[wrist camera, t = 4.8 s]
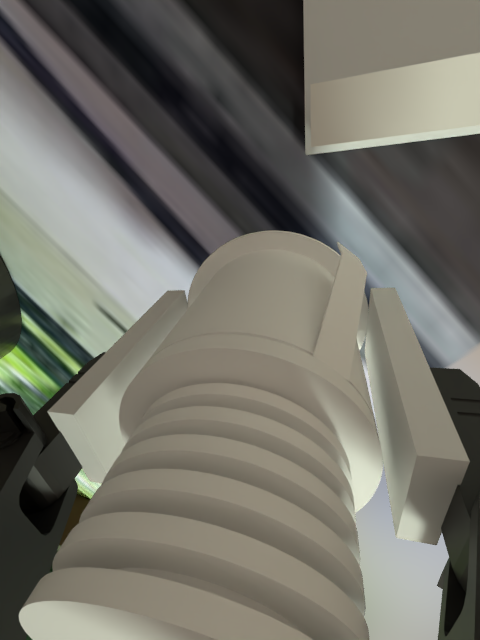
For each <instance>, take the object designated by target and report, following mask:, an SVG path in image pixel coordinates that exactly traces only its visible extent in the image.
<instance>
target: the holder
mask: <svg viewBox="0 0 480 640" xmlns="http://www.w3.org/2000/svg"><path fill="white" fill-rule="evenodd" d="M303 13H304V85H305V155H310V154H318V153H326V152H335V151H343V150H351V149H359V148H367V147H375V146H383V145H391V144H399V143H407V142H415V141H423V140H431V139H439V138H447V137H455V136H463V135H471V134H479V133H480V0H303Z"/></svg>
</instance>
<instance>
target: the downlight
mask: <svg viewBox="0 0 480 640" xmlns="http://www.w3.org/2000/svg"><path fill="white" fill-rule="evenodd" d="M337 245H338V248H339V250H340V253H341V256H340V255H339V254H338V253H337V252H335V251H334V250H333V249H331V248H330V247H329V246H327V245H325V244H323V243H322V242H320V241H318V240H315V239H313V238H311V237H308V236H305V235H302V234H298V233H293V232H287V231H260V232H254V233H249V234H246V235H243V236H240V237H237V238H235V239H233V240H231V241H229V242H227V243H225V244H224V245H222V246H221V247H219V248H218V249H217V250H215V251H214V252H213V253H212V254H211V255H210V256H209V257H208V258H207V259H206V260H205V261H204V262H203V264H202V265H201V267H200V268H199V269H198V271H197V273H196V275H195V277H194V279H193V281H192V284H191V287H190V290H189V295H188V310H187V311H186V312H185V314H184V315H183V316H182V318H181V319H180V320H179V321H178V323H177V324H176V325H175V327H174V328H173V329H172V330H171V332H170V333H169V334H168V335H167V337H166V338H165V339H164V341H163V342H162V343H161V344H160V346H159V347H158V348H157V350H156V351H155V352H154V353H153V355H152V356H151V357H150V359H149V360H148V361H147V362H146V364H145V365H144V366H143V368H142V369H141V370H140V371H139V373H138V374H137V375H136V376H135V378H134V379H133V380H132V381H131V383H130V384H129V385H128V387H127V389H126V391H125V392H124V395H123V397H122V400H121V404H120V409H119V425H120V431H121V435H122V438H123V441H124V443H125V446H124V448H123V449H122V452H121V454H120V456H119V457H118V458H117V459H116V461H115V462H114V464H113V465H112V467H111V468H110V470H109V471H108V473H107V475H106V476H105V478H104V480H103V482H102V485H101V486H100V487H99V488H98V489H97V491H96V492H95V494H94V495H93V497H92V498H91V500H90V501H89V503H88V505H87V506H86V508H85V509H84V511H83V512H82V514H81V517H80V520H79V524H77V525H76V526H75V527H74V528H73V529H72V530H71V532H70V533H69V535H68V536H67V538H66V539H65V541H64V542H63V544H62V546H61V547H60V549H59V550H58V552H57V554H56V555H55V557H54V560H53V564H52V569H53V572H51V573H48V574H46V575H45V576H44V577H42V578H41V579H40V581H39V582H38V584H37V585H36V587H35V588H34V590H33V591H32V593H31V595H30V596H29V598H28V599H27V601H26V602H25V604H24V606H23V607H22V609H21V610H20V612H19V621H20V624H21V626H22V628H23V629H24V631H25V632H26V633H27V634H28V635H29V637H30V638H31V639H32V640H369V632H368V627H367V624H366V621H365V619H364V615H365V609H366V607H365V596H364V588H363V578H362V573H361V569H360V552H359V542H358V533H357V528H356V516H355V513H356V512H357V511H359V510H360V509H361V508H362V507H363V506H364V505H365V504H366V503H367V502H368V501H369V500H370V499H371V498H372V496H373V495H374V493H375V491H376V490H377V487H378V486H379V483H380V480H381V477H382V470H383V456H382V450H381V445H380V441H379V437H378V433H377V428H376V424H375V419H374V414H373V410H372V405H371V401H370V396H369V392H368V387H367V383H366V378H365V374H364V369H363V365H362V360H361V356H360V351H359V350H360V349H361V347H362V344H363V342H364V340H365V336H366V333H367V323H368V303H367V299H366V295H365V292H364V288H365V282H366V276H367V272H366V270H365V269H364V267H363V265H362V263H361V261H360V259H359V258H357V257H356V256H355V255H354V254H352V253H351V252H350V251H349V250H348V249H346V248H345V247H344V246H343V245H341V244H340V243H339V242H337Z"/></svg>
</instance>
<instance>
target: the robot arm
mask: <svg viewBox="0 0 480 640" xmlns="http://www.w3.org/2000/svg"><path fill="white" fill-rule="evenodd" d="M187 310H188V303H187V299H186V295H185V290H175V291H167V292H166V293H165V294H164V295H163V296H162V297H161V298H160V299H159V300H158V301H157V302H156V303H155V304H154V305H153V306H152V307H151V308H150V309H149V310H148V311H147V312H146V313H145V314H144V315H143V316H142V317H141V318H140V319H139V320H138V321H137V322H136V323H135V324H134V325H133V326H132V327H131V328H130V329H129V330H128V331H127V332H126V333H125V334H124V335H123V336H122V337H121V338H120V339H119V340H118V341H117V342H116V343H115V344H114V345H113V346H112V347H111V348H110V349H109V350H108V351H107V352H106V353H105V352H103V353H102V354H100V355H99V356H97V357H95V358H94V359H92V360H91V361H89V362H88V363H87V364H86V365H85V366H84V367H83V368H82V369H81V370H80V371H79V372H78V374H76V375H75V376H73V377H72V378H71V379H70V380H69V383H66V384H65V385H64V386H63V387H62V388H61V389H60V390H59V391H58V392H57V393H56V394H55V395H54V396H53V397H52V398H51V399H50V400H49V401H48V402H47V403H46V404H45V405H44V406H43V407H42V408H41V409H40V410H38V411H37V412H36V413H35V414H34V415H32V413H31V412H30V410H29V409H28V407H27V406H26V404H25V403H24V401H23V399H22V398H21V396H20V395H17V394H15V393H6V394H2V395H0V640H26V637H27V633H26V632H25V631H24V629H23V628H22V626H21V624H20V621H19V612H20V610H21V609H22V607H23V606H24V604H25V602H26V601H27V599H28V598H29V596H30V595H31V593H32V591H33V590H34V588H35V587H36V585H37V584H38V582H39V581H40V579H41V578H42V577H44V576H45V575H46V574H48V573H49V572H50V569H51V566H52V563H53V560H54V557H55V555H56V552H57V549H58V546H59V543H60V541H61V538H62V535H63V532H64V529H65V526H66V524H67V521H68V518H69V515H70V512H71V509H72V507H73V504H74V501H75V498H76V495H77V489H78V486H77V483H76V481H75V479H74V478H75V477H76V476H77V474H78V473H79V471H80V470H81V469H83V471H84V472H85V474H86V475H87V477H88V479H89V480H90V481H92V482H97V483H102V482H103V480H104V478H105V476H106V475H107V473H108V471H109V470H110V468H111V467H112V465H113V464H114V462H115V461H116V459H117V458H118V457H119V456H120V454H121V452H122V449H123V448H124V446H125V443H124V441H123V438H122V435H121V431H120V425H119V409H120V404H121V400H122V397H123V395H124V392H125V391H126V389H127V387H128V385H129V384H130V383H131V381H132V380H133V379H134V378H135V376H136V375H137V374H138V373H139V371H140V370H141V369H142V368H143V366H144V365H145V364H146V362H147V361H148V360H149V359H150V357H151V356H152V355H153V353H154V352H155V351H156V350H157V348H158V347H159V346H160V344H161V343H162V342H163V341H164V339H165V338H166V337H167V335H168V334H169V333H170V332H171V330H172V329H173V328H174V327H175V325H176V324H177V323H178V321H179V320H180V319H181V318H182V316H183V315H184V314H185V312H186V311H187ZM21 327H22V318H21V310H20V304H19V300H18V297H17V293H16V290H15V288H14V285H13V282H12V280H11V278H10V275H9V273H8V271H7V269H6V267H5V265H4V263H3V261H2V260H1V258H0V359H1V358H2V357H4V356H5V355H7V354H8V353H10V352H11V351H12V350H13V349H14V347H15V346H16V344H17V343H18V340H19V338H20V334H21ZM365 357H366V363H367V369H368V375H369V381H370V387H371V393H372V399H373V405H374V411H375V417H376V422H377V428H378V434H379V440H380V445H381V450H382V456H383V464H384V470H385V476H386V482H387V488H388V493H389V499H390V505H391V511H392V517H393V523H394V529H395V535H396V538H400V539H406V540H411V541H417V542H422V543H427V544H432V545H437V543H438V540H439V538H440V535H441V533H443V537H444V540H445V544H446V547H447V551H448V554H449V559H448V561H447V563H446V565H445V567H444V570H443V572H442V574H441V577H440V579H439V582H438V584H437V586H438V587H440V588H442V589H443V592H442V603H441V613H440V623H439V634H438V640H480V387H479V385H478V384H477V383H476V382H475V381H473V380H472V379H471V378H470V377H469V376H468V375H466V374H465V373H464V372H462V371H461V370H460V369H446V368H429V366H428V363H427V361H426V359H425V356H424V354H423V352H422V349H421V347H420V345H419V342H418V340H417V338H416V335H415V333H414V331H413V328H412V326H411V324H410V321H409V319H408V317H407V314H406V312H405V310H404V308H403V305H402V303H401V301H400V298H399V296H398V294H397V291H396V289H395V288H371V292H370V302H369V312H368V323H367V333H366V343H365Z"/></svg>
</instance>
